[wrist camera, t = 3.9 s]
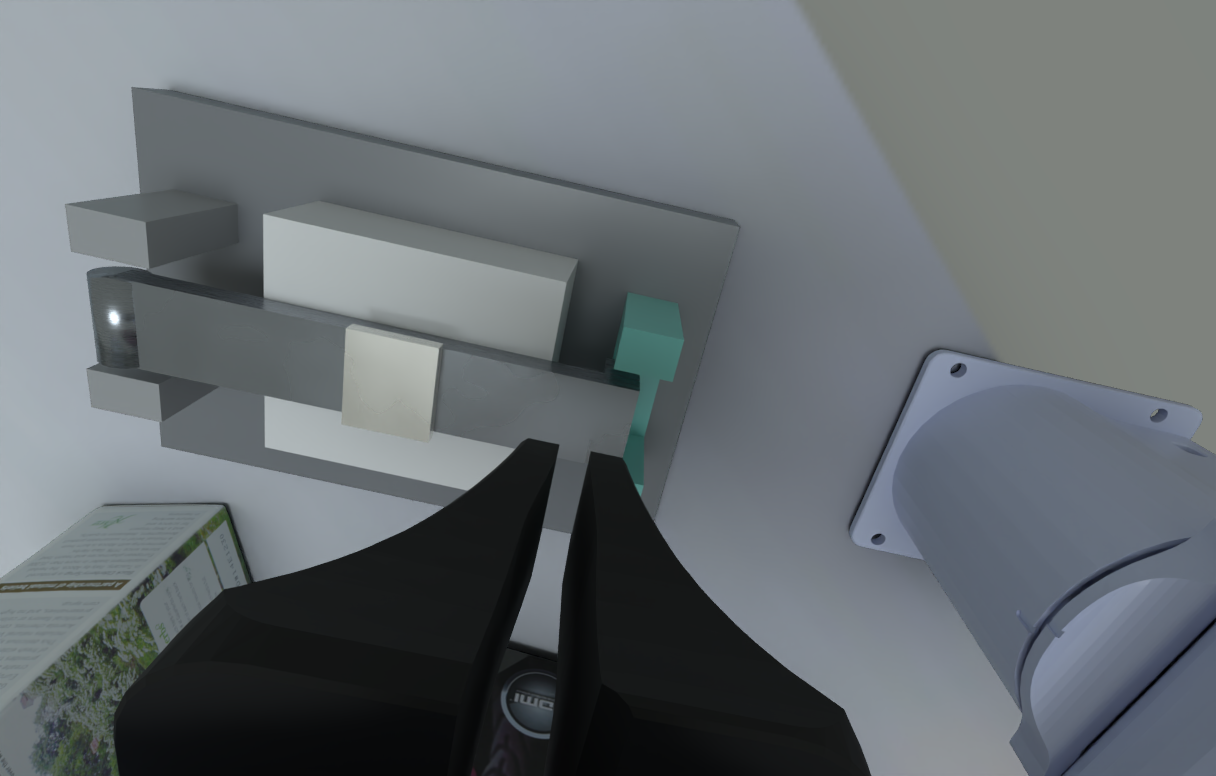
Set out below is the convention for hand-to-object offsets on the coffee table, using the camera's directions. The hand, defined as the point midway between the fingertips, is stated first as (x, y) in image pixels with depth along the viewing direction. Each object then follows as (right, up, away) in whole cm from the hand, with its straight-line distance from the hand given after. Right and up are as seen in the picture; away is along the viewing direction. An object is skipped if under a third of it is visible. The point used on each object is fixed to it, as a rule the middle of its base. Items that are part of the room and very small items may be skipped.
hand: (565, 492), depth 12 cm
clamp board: (-5, +4, +10) cm, 12 cm away
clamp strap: (-6, +3, +7) cm, 9 cm away
